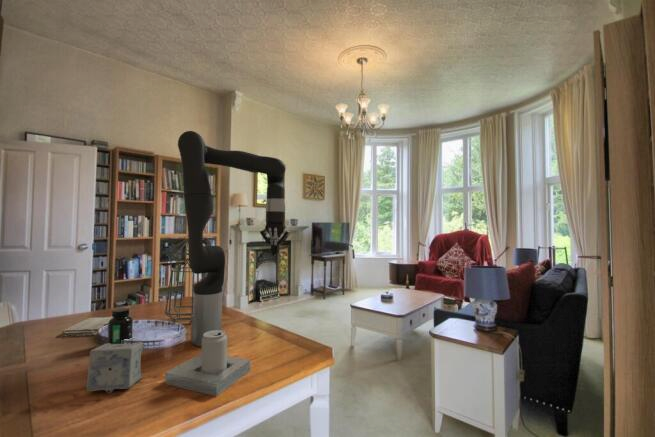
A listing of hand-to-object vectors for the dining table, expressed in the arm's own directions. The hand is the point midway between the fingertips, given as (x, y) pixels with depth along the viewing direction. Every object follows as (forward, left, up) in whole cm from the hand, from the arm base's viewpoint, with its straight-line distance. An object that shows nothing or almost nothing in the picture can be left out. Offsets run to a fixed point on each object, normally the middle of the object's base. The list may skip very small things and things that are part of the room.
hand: (275, 254), depth 124 cm
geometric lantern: (-38, -5, -29) cm, 48 cm away
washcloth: (-66, -25, -30) cm, 76 cm away
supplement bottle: (-40, -33, -29) cm, 59 cm away
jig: (+3, -40, -29) cm, 49 cm away
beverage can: (+4, -40, -29) cm, 50 cm away
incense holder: (-16, -52, -29) cm, 62 cm away
